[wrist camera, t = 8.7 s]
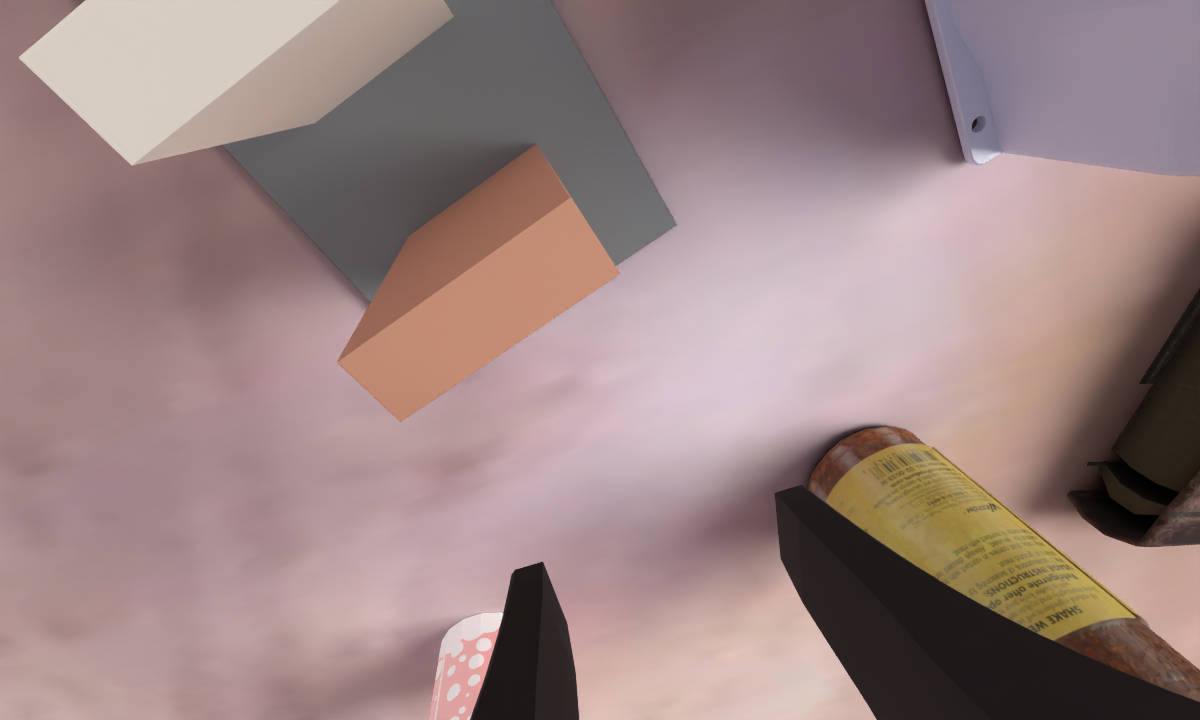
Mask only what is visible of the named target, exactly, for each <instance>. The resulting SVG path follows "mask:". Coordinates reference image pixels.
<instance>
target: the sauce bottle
mask: <svg viewBox="0 0 1200 720" xmlns="http://www.w3.org/2000/svg"><path fill="white" fill-rule="evenodd" d="M808 489H809V490H810V491H811V492H813V493H814V494H815V495H817V496H818V497H819V498H821V499H822V500H823V501H825V502H826V503H827V504H829V505H830V506H831V507H832V508H834V509H835V510H836V511H838V512H839V513H840V514H842V515H843V516H845V517H846V518H847V519H849V520H850V521H851V522H853V523H854V524H856V525H857V526H858V527H860V528H861V529H863V530H864V531H865V532H867V533H868V534H870V535H871V536H872V537H874V538H875V539H877V540H878V541H880V542H881V543H883V544H884V545H886V546H887V547H889V548H890V549H892V550H893V551H895V552H896V553H897V554H899V555H900V556H902V557H904V558H905V559H907V560H908V561H910V562H911V563H913V564H914V565H916V566H917V567H919V568H921V569H922V570H924V571H926V572H927V573H929V574H930V575H932V576H934V577H935V578H937V579H938V580H940V581H942V582H943V583H945V584H947V585H948V586H950V587H952V588H954V589H955V590H957V591H959V592H960V593H962V594H964V595H966V596H967V597H969V598H971V599H973V600H974V601H976V602H978V603H980V604H982V605H984V606H986V607H987V608H989V609H991V610H993V611H995V612H997V613H998V614H1000V615H1002V616H1004V617H1006V618H1008V619H1010V620H1012V621H1014V622H1016V623H1018V624H1020V625H1022V626H1024V627H1026V628H1028V629H1030V630H1032V631H1034V632H1036V633H1038V634H1040V635H1042V636H1044V637H1046V638H1049V639H1051V640H1053V641H1055V642H1057V643H1060V644H1062V645H1064V646H1066V647H1068V648H1070V649H1073V650H1075V651H1077V652H1079V653H1081V654H1084V655H1086V656H1088V657H1090V658H1092V659H1094V660H1097V661H1099V662H1101V663H1103V664H1105V665H1108V666H1110V667H1112V668H1115V669H1117V670H1120V671H1122V672H1125V673H1127V674H1129V675H1132V676H1134V677H1137V678H1139V679H1142V680H1144V681H1147V682H1149V683H1151V684H1154V685H1156V686H1159V687H1161V688H1164V689H1166V690H1169V691H1171V692H1174V693H1177V694H1179V695H1182V696H1185V697H1188V698H1190V699H1193V700H1196V701H1199V702H1200V670H1199V669H1198V668H1197V667H1196V666H1194V665H1193V664H1192V663H1191V662H1190V661H1188V660H1187V659H1186V658H1184V657H1183V656H1182V655H1181V654H1180V653H1178V652H1177V651H1175V650H1174V649H1173V648H1172V647H1171V646H1170V645H1169V644H1168V643H1167V642H1166V641H1165V640H1163V639H1162V638H1161V637H1159V636H1158V635H1157V634H1155V632H1153V631H1152V630H1151V629H1150V627H1149V625H1148V623H1147V622H1146V621H1145V620H1144V619H1143V618H1142V617H1141V616H1140V615H1139V614H1138V613H1136V612H1135V611H1134V610H1133V609H1131V608H1130V607H1129V606H1128V605H1127V604H1125V603H1124V602H1123V601H1122V600H1120V599H1119V598H1118V597H1117V596H1116V595H1114V594H1113V593H1112V592H1111V591H1109V590H1108V589H1107V588H1106V587H1105V586H1103V585H1102V584H1101V583H1100V582H1098V581H1097V580H1096V579H1095V578H1094V577H1092V576H1091V575H1090V574H1089V573H1087V572H1086V571H1085V570H1084V569H1083V568H1081V567H1080V566H1079V565H1078V564H1076V563H1075V562H1074V561H1073V560H1072V559H1070V558H1069V557H1068V556H1067V555H1065V554H1064V553H1063V552H1062V551H1061V550H1059V549H1058V548H1057V547H1056V546H1054V545H1053V544H1052V543H1051V542H1049V541H1048V540H1047V539H1046V538H1045V537H1043V536H1042V535H1041V534H1040V533H1038V532H1037V531H1036V530H1035V529H1034V528H1032V527H1031V526H1030V525H1029V524H1027V523H1026V522H1025V521H1024V520H1023V519H1021V518H1020V517H1019V516H1018V515H1016V514H1015V513H1014V512H1013V511H1012V510H1010V509H1009V508H1008V507H1007V506H1005V505H1004V504H1003V503H1002V502H1001V501H999V500H998V499H997V498H996V497H994V496H993V495H992V494H991V493H989V492H988V491H987V490H986V489H984V488H983V487H982V486H981V485H980V484H978V483H977V482H976V481H975V480H973V479H972V478H971V477H970V476H968V475H967V474H966V473H965V472H963V471H962V470H961V469H960V468H958V467H957V466H956V465H955V464H954V463H952V462H951V461H950V460H949V459H948V458H946V457H945V456H944V455H943V454H942V453H941V452H939V451H938V450H937V449H935V448H934V447H932V448H931V447H929V446H926V445H925V444H924V443H923V442H922V441H920V439H918V438H917V437H916V436H915V435H914V434H913V433H911V432H909V431H907V430H905V429H902V428H897V427H890V426H885V427H878V428H873V429H872V428H868V429H864V430H861V431H859V432H857V433H853V434H852V435H851V436H849V437H847V438H845V439H842V440H840V441H839V442H838V443H837V444H836V445H835V446H834V447H833V448H832V449H831V450H830V451H828V452H827V453H826V455H825V456H824V457H823V459H822V460H821V461H820V462H819V463H818V465H817V466H816V468H815V469H814V471H813V473H812V474H811V477H810V480H809V486H808Z"/></svg>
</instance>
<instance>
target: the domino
mask: <svg viewBox="0 0 1200 720" xmlns="http://www.w3.org/2000/svg"><path fill="white" fill-rule="evenodd" d="M453 17H454V15H453V14H452V12H451V11H450V9H449V7H448V6H447V4H446V3H445V1H444V0H85V1H84V2H83V3H82V4H80V5H79V6H78V7H77V8H76V9H75V10H73V11H72V12H71V13H70V14H69V15H68V16H66V17H65V18H64V19H63V20H62V21H61V22H59V23H58V24H57V25H56V26H55V27H54V28H52V29H51V30H50V31H49V32H48V33H47V34H45V35H44V36H43V37H42V38H41V39H40V40H38V41H37V42H36V43H35V44H34V45H32V46H31V47H30V48H29V49H28V50H27V51H25V52H24V53H23V54H22V55H21V56H20V57H18V58H19V59H20V60H21V61H22V62H24V63H25V64H26V65H27V66H28V67H29V68H30V69H31V70H32V71H33V72H34V73H35V74H36V75H37V76H38V77H39V78H40V79H41V80H42V81H43V82H45V83H46V84H47V85H48V86H49V87H50V88H51V89H52V90H53V91H54V92H55V93H56V94H57V95H58V96H59V97H60V98H61V99H62V100H63V101H64V102H66V103H67V104H68V105H69V106H70V107H71V108H72V109H73V110H74V111H75V112H76V113H77V114H78V115H79V116H80V117H81V118H82V119H83V120H84V121H85V122H87V123H88V124H89V125H90V126H91V127H92V128H93V129H94V130H95V131H96V132H97V133H98V134H99V135H100V136H101V137H102V138H103V139H104V140H105V141H106V142H108V143H109V144H110V145H111V146H112V147H113V148H114V149H115V150H116V151H117V152H118V153H119V154H120V155H121V156H122V157H123V158H124V159H125V160H126V161H127V162H129V163H130V164H131V165H136V164H141V163H145V162H149V161H154V160H158V159H162V158H167V157H171V156H175V155H180V154H184V153H188V152H193V151H197V150H201V149H206V148H210V147H214V146H219V145H223V144H227V143H232V142H236V141H240V140H245V139H249V138H253V137H258V136H262V135H266V134H271V133H275V132H279V131H284V130H288V129H292V128H297V127H301V126H305V125H310V124H314V123H316V122H317V121H318V120H320V119H321V118H322V117H324V116H325V115H326V114H328V113H329V112H330V111H331V110H333V109H334V108H335V107H337V106H338V105H339V104H341V103H342V102H343V101H345V100H346V99H347V98H348V97H350V96H351V95H352V94H354V93H355V92H356V91H358V90H359V89H360V88H362V87H363V86H364V85H365V84H367V83H368V82H369V81H371V80H372V79H373V78H375V77H376V76H377V75H378V74H380V73H381V72H382V71H384V70H385V69H386V68H388V67H389V66H390V65H392V64H393V63H394V62H395V61H397V60H398V59H399V58H401V57H402V56H403V55H405V54H406V53H407V52H409V51H410V50H411V49H412V48H414V47H415V46H416V45H418V44H419V43H420V42H422V41H423V40H424V39H425V38H427V37H428V36H429V35H431V34H432V33H433V32H435V31H436V30H437V29H439V28H440V27H441V26H442V25H444V24H445V23H446V22H448V21H449V20H450V19H452V18H453Z"/></svg>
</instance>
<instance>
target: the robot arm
mask: <svg viewBox="0 0 1200 720" xmlns="http://www.w3.org/2000/svg"><path fill="white" fill-rule="evenodd" d="M925 3H926V7H927V11H928V15H929V19H930V23H931V27H932V31H933V35H934V39H935V43H936V47H937V51H938V55H939V59H940V63H941V67H942V71H943V75H944V79H945V83H946V87H947V91H948V94H949V98H950V102H951V106H952V110H953V114H954V118H955V122H956V126H957V130H958V134H959V138H960V142H961V146H962V150H963V154H964V158H965V159H966V161H967V162H968V163H970V164H975V165H982V164H984V163H987V162H988V161H990V160H991V159H993V158H994V157H996V156H998V155H999V154H1001V153H1002V152H1004V153H1011V154H1018V155H1025V156H1032V157H1039V158H1046V159H1053V160H1061V161H1068V162H1075V163H1082V164H1089V165H1096V166H1103V167H1110V168H1117V169H1125V170H1132V171H1139V172H1146V173H1153V174H1160V175H1172V176H1200V0H925ZM976 118H977V124H976V126H975V128H974V129H973V130H972V123H973V121H974V120H975V119H976ZM775 502H776V512H777V523H778V534H779V545H780V556H781V560H782V562H783V564H784V566H785V568H786V570H787V572H788V574H789V576H790V578H791V580H792V582H793V584H794V586H795V588H796V590H797V592H798V594H799V596H800V598H801V600H802V602H803V604H804V606H805V607H806V609H807V610H808V612H809V613H810V615H811V617H812V618H813V620H814V621H815V623H816V625H817V626H818V628H819V629H820V631H821V632H822V634H823V636H824V637H825V639H826V640H827V642H828V643H829V645H830V646H831V648H832V650H833V651H834V653H835V654H836V656H837V657H838V659H839V660H840V662H841V664H842V665H843V667H844V668H845V670H846V671H847V673H848V674H849V676H850V678H851V679H852V681H853V682H854V684H855V685H856V687H857V688H858V690H859V692H860V693H861V695H862V696H863V698H864V699H865V701H866V702H867V704H868V706H869V707H870V709H871V711H872V712H873V714H874V716H875V717H876V719H877V720H1200V702H1199V701H1196V700H1193V699H1190V698H1188V697H1185V696H1182V695H1179V694H1177V693H1174V692H1171V691H1169V690H1166V689H1164V688H1161V687H1159V686H1156V685H1154V684H1151V683H1149V682H1147V681H1144V680H1142V679H1139V678H1137V677H1134V676H1132V675H1129V674H1127V673H1125V672H1122V671H1120V670H1117V669H1115V668H1112V667H1110V666H1108V665H1105V664H1103V663H1101V662H1099V661H1097V660H1094V659H1092V658H1090V657H1088V656H1086V655H1084V654H1081V653H1079V652H1077V651H1075V650H1073V649H1070V648H1068V647H1066V646H1064V645H1062V644H1060V643H1057V642H1055V641H1053V640H1051V639H1049V638H1046V637H1044V636H1042V635H1040V634H1038V633H1036V632H1034V631H1032V630H1030V629H1028V628H1026V627H1024V626H1022V625H1020V624H1018V623H1016V622H1014V621H1012V620H1010V619H1008V618H1006V617H1004V616H1002V615H1000V614H998V613H997V612H995V611H993V610H991V609H989V608H987V607H986V606H984V605H982V604H980V603H978V602H976V601H974V600H973V599H971V598H969V597H967V596H966V595H964V594H962V593H960V592H959V591H957V590H955V589H954V588H952V587H950V586H948V585H947V584H945V583H943V582H942V581H940V580H938V579H937V578H935V577H934V576H932V575H930V574H929V573H927V572H926V571H924V570H922V569H921V568H919V567H917V566H916V565H914V564H913V563H911V562H910V561H908V560H907V559H905V558H904V557H902V556H900V555H899V554H897V553H896V552H895V551H893V550H892V549H890V548H889V547H887V546H886V545H884V544H883V543H881V542H880V541H878V540H877V539H875V538H874V537H872V536H871V535H870V534H868V533H867V532H865V531H864V530H863V529H861V528H860V527H858V526H857V525H856V524H854V523H853V522H851V521H850V520H849V519H847V518H846V517H845V516H843V515H842V514H840V513H839V512H838V511H836V510H835V509H834V508H832V507H831V506H830V505H829V504H827V503H826V502H825V501H823V500H822V499H821V498H819V497H818V496H817V495H815V494H814V493H813V492H811V491H810V490H809V489H808V488H806V487H804V486H803V485H800V486H796V487H793V488H790V489H786V490H783V491H780V492H776V493H775ZM470 720H579V711H578V698H577V684H576V672H575V666H574V660H573V654H572V648H571V643H570V637H569V631H568V626H567V622H566V619H565V617H564V614H563V612H562V609H561V606H560V604H559V601H558V599H557V596H556V594H555V591H554V589H553V586H552V584H551V581H550V579H549V576H548V573H547V571H546V568H545V566H544V563H543V562H540V563H537V564H533V565H530V566H527V567H523V568H520V569H516V570H515V571H514V572H513V574H512V575H511V580H510V585H509V590H508V595H507V600H506V604H505V608H504V612H503V616H502V620H501V624H500V628H499V631H498V635H497V639H496V642H495V645H494V649H493V652H492V655H491V659H490V662H489V665H488V669H487V672H486V675H485V678H484V681H483V684H482V687H481V690H480V693H479V695H478V698H477V701H476V704H475V707H474V710H473V712H472V715H471V718H470Z"/></svg>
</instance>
